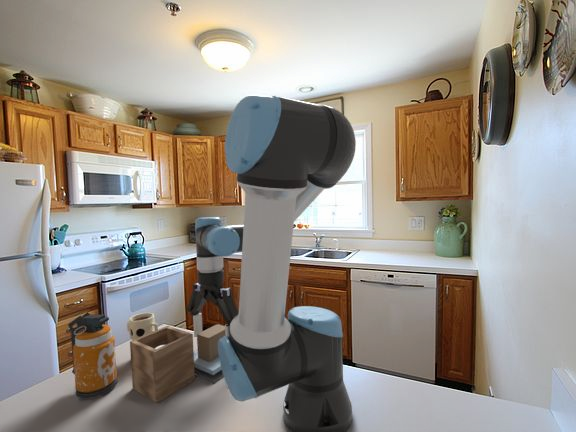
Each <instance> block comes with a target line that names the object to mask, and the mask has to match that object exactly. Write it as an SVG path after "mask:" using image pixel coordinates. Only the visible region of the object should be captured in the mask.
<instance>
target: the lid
mask: <svg viewBox="0 0 576 432" xmlns="http://www.w3.org/2000/svg"><path fill="white" fill-rule="evenodd" d="M224 336H225V325H222V324H219V323H218V324H215V325H212V326H211V327H209V328H206V329H205V330H203V331H202V332H200V333H198V334H197V337H196V342H197V343H196V344H197V349H196V350H193V351H194V367H195V368H197V369H200V370H202V371H204V372H207V373H209V374H212V375H214V374H216V373H217V372H219V371H220V370H222V368H221V364H220V360H219V354H218V341H219V340H220V338H222V337H224Z"/></svg>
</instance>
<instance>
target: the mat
mask: <svg viewBox="0 0 576 432" xmlns="http://www.w3.org/2000/svg"><path fill="white" fill-rule="evenodd" d="M194 373H195V376H197V377H200V378H201V379H205V380H206V381H209V382H211V383H214V384H216V383H217V382H218V381H219V380H221V379H222V378H223V379H224V375H223V372H222V370H220V371H219V372H217V373H216V374H214V375H212V374H209V373H207V372H204V371H202V370H200V369H197V368H195V367H194Z"/></svg>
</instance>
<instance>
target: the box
mask: <svg viewBox="0 0 576 432" xmlns="http://www.w3.org/2000/svg"><path fill="white" fill-rule="evenodd" d="M161 345H164V346H162V347H160V348H158V349H155V348H156V347H158V346H161ZM129 347H130V349H129V350H130V352H129V353H130V365H131V383H132V384H131V385H132V389H133V390H135V391H137V392H139V394H141V395H143V396H144V397H146V398H148V399H150V400H151V401H153V402H155V403H157V404H159V403H161V402H162V401H163V400H165V399H166V398H168V397H169V396H171V395H172V394H175V393H176V392H177V391H179V390H180V389H182V388H183V387H186V386H187V385H188V384H189V383H192V382H194V380H196V377H195V376H196V375H195V373H194V351H195V350H194V333H190V332H187V331H185V330H181V329H178V328H177V327H176V328H175V327H173V326H170V325H166V326H163V327H161V328H158V330H156V331H154V332H152V333H149V334H147V335H144V336H142V337H139V338H137V339H135V340H132V339H131V340H130V341H129Z"/></svg>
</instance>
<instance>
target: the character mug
mask: <svg viewBox="0 0 576 432" xmlns="http://www.w3.org/2000/svg"><path fill="white" fill-rule="evenodd" d="M155 320H156V319H155V314H154V313H153V312H141V313H137V314H135V315H132V316H129V319H128V321H127V322H126V330H127V332H129V333H128V334H129V338H130V339H131V341H132V340H135V339H137V338H139V337H142V336H144V335H147V334H149V333H152V332H154V331H156V330H159V324H158V323H157V322H156V321H155Z"/></svg>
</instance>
